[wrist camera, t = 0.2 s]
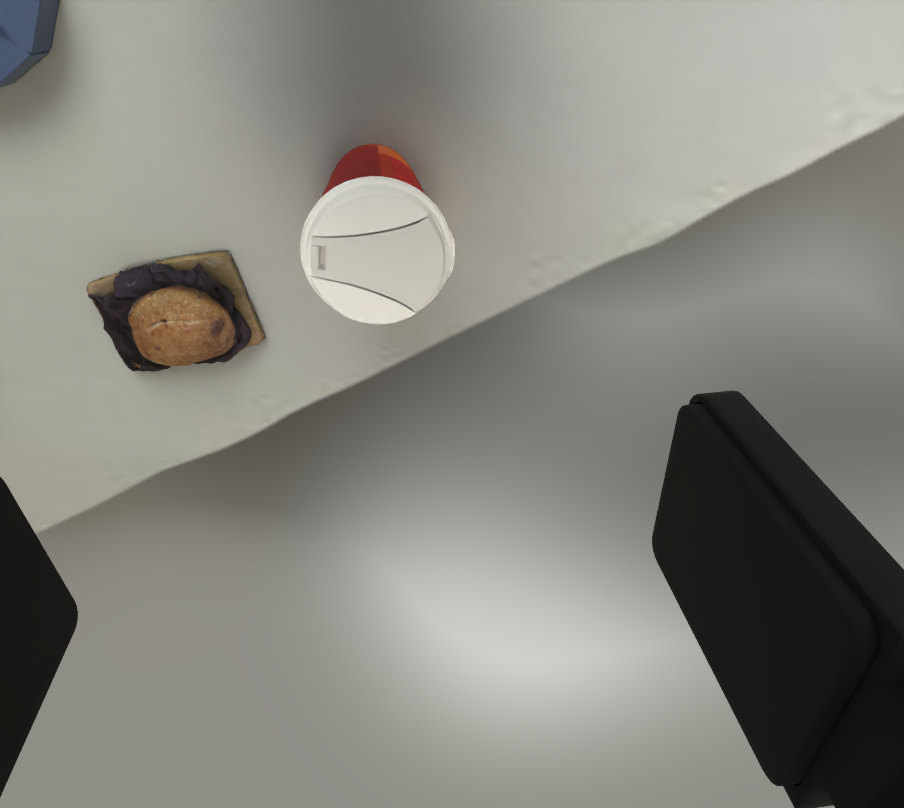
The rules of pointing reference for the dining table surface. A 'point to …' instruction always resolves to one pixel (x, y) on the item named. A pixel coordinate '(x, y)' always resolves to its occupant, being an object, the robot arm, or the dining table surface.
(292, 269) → the dining table surface
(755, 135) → the dining table surface
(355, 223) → the paper cup
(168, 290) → the bun on tray
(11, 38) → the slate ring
